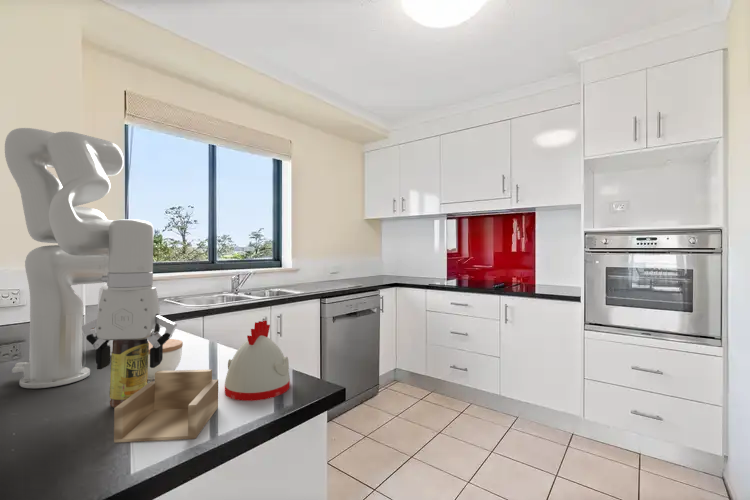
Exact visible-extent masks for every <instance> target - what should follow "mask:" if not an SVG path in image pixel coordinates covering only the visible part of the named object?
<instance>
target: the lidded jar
mask: <svg viewBox="0 0 750 500" xmlns="http://www.w3.org/2000/svg"><path fill="white" fill-rule="evenodd" d="M148 343H149V351H148V377H147V381H149V380H151V381H152V380H154V381H155V373H156V372H157V371H173V370H177V368H178V367H179V365H180V362H181V359H182V355H183V345H184V344H183V341H182V340H180V339H176V338H175V339H172V338H169V339H168V340H167V341H166V342H165V344H163V358H162V361H161V363H160V364H159V365H158V366H156V367H155V368H151V367H150V349H151V348H152V347H153V345H152V344H151V343H150V342H149V341H148Z"/></svg>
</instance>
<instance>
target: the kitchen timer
mask: <svg viewBox="0 0 750 500" xmlns="http://www.w3.org/2000/svg"><path fill="white" fill-rule="evenodd" d="M270 327H271V325H270V324H268V320H262V321H258V322H254V328H250V334H251V335H247V336H246V337H247V340H245V341H244V342H243V343H242V344H241V345H240V347H239V348H238V349H237V350H236V352H235V354H234V355H233V357H232V359H230V358H229V359H228V362H227V373H226V376H225V380H224V394H225V397H228V398H229V399H233V400H235V401H236V400H237V401H244V402H245V401H246V402H247V401H251V402H252V401H263V400H267V399H272V398H275V397H278V396H280V395H283V394H285V393H286V392H287V391H288V390H289V389H290V383H291V381H290V380H291V377H290V368H289V367H290V366H289V358H288V356H285V355H284V353H283V352H282V350H281V348H280V347H279V345H277V344H276V343H275V342H274V340H272V339H271V338H269V337H268V336H269V332H270Z"/></svg>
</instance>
